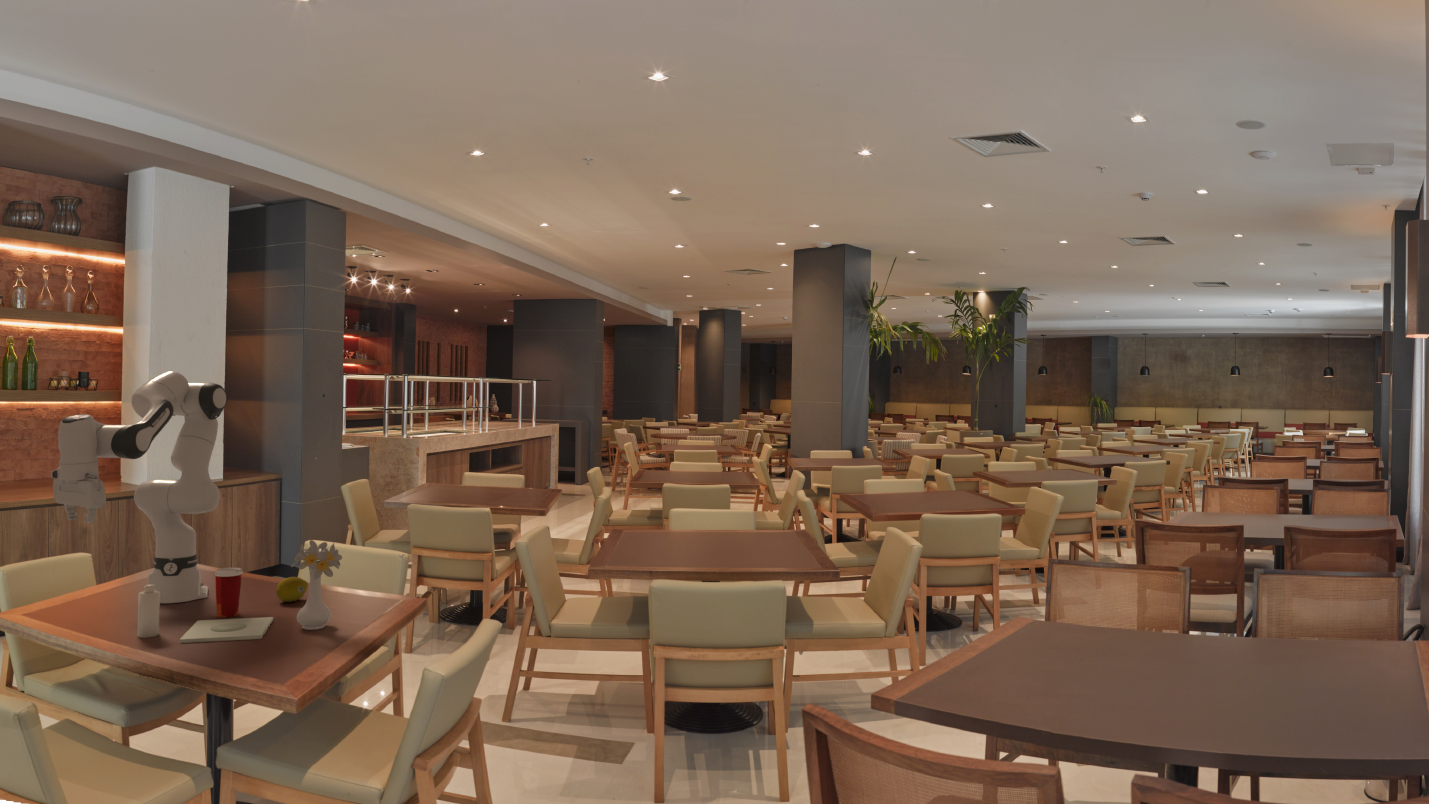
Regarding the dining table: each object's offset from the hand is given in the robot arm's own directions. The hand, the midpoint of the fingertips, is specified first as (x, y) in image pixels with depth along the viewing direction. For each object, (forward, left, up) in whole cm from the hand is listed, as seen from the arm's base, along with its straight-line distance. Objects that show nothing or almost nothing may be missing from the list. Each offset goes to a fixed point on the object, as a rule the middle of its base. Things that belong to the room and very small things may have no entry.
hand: (81, 521), depth 241 cm
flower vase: (+11, +63, -31) cm, 71 cm away
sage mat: (+10, +40, -31) cm, 51 cm away
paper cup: (-9, +36, -31) cm, 48 cm away
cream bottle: (+10, +20, -31) cm, 38 cm away
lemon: (-24, +52, -31) cm, 65 cm away
